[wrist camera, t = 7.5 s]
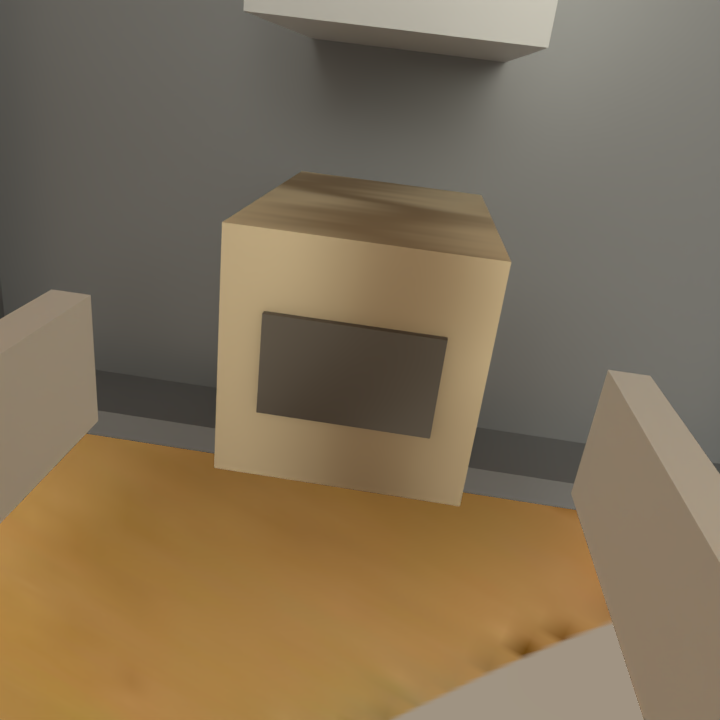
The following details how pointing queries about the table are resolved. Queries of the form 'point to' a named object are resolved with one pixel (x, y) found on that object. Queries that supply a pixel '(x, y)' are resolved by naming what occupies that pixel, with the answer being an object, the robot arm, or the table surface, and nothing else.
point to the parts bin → (385, 164)
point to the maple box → (357, 335)
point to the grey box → (421, 24)
